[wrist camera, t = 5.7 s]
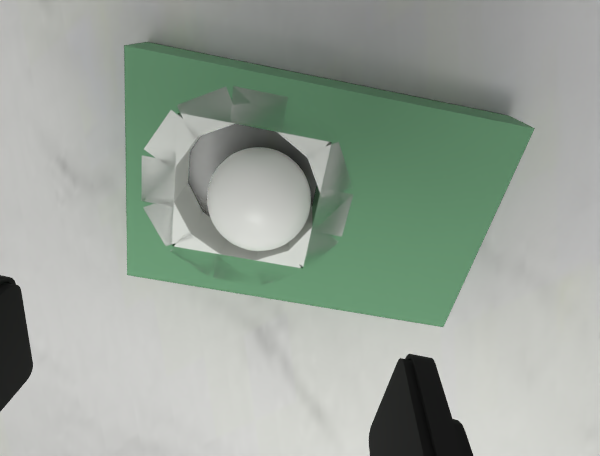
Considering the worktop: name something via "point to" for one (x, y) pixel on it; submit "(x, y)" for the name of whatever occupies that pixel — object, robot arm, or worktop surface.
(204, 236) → the green flat slab
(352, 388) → the worktop surface
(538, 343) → the worktop surface
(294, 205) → the ball
